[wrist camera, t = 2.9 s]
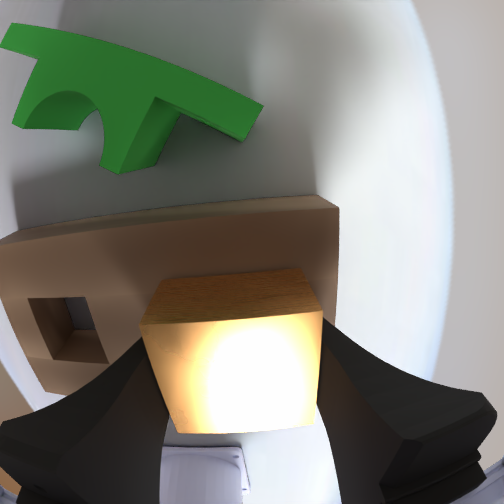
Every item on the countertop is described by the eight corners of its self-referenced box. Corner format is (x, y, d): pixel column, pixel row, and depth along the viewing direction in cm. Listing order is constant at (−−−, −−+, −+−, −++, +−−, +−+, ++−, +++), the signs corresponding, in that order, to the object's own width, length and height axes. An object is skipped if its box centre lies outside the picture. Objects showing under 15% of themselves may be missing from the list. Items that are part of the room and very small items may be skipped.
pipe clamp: (32, 110, 11) (-27, 106, 6) (62, 45, 10) (11, 22, 5) (214, 195, 13) (202, 218, 9) (255, 121, 12) (265, 104, 8)
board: (314, 355, 16) (327, 391, 13) (63, 362, 16) (45, 391, 13) (317, 194, 13) (339, 207, 10) (17, 230, 13) (-16, 248, 10)
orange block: (289, 336, 15) (313, 423, 9) (192, 344, 15) (177, 433, 9) (287, 244, 13) (322, 310, 8) (175, 253, 13) (138, 324, 8)
